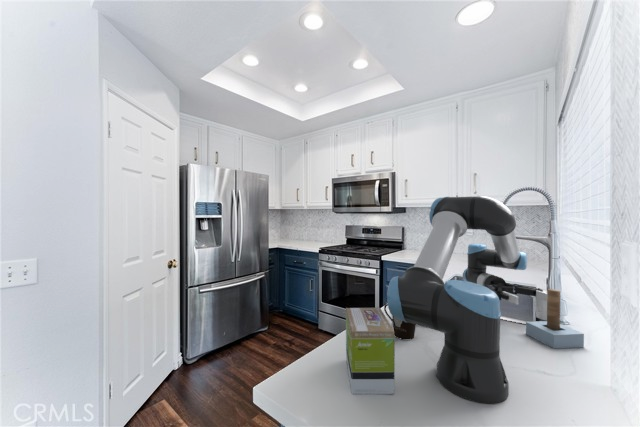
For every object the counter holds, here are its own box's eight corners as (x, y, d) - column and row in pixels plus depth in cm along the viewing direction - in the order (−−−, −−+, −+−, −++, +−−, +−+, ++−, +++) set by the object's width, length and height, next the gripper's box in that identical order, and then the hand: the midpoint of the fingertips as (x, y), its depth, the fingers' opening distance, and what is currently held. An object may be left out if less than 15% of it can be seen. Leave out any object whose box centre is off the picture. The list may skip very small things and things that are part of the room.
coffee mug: (423, 339, 88) (423, 308, 87) (399, 342, 86) (399, 311, 85) (403, 325, 99) (404, 297, 99) (381, 327, 97) (382, 299, 97)
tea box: (344, 359, 76) (345, 306, 76) (381, 359, 76) (381, 306, 76) (350, 395, 61) (351, 329, 61) (395, 396, 61) (396, 330, 61)
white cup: (565, 323, 101) (565, 296, 101) (541, 321, 102) (541, 294, 103) (552, 316, 109) (552, 290, 109) (529, 314, 110) (529, 289, 110)
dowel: (553, 342, 86) (554, 291, 86) (544, 337, 90) (544, 289, 89) (562, 342, 87) (563, 291, 87) (552, 337, 90) (553, 288, 90)
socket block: (554, 348, 83) (554, 335, 83) (525, 333, 93) (526, 321, 93) (583, 346, 84) (583, 333, 84) (552, 332, 94) (552, 320, 94)
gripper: (518, 292, 117) (568, 309, 96) (463, 293, 115) (502, 312, 94) (519, 274, 117) (568, 288, 96) (464, 275, 115) (502, 290, 94)
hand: (535, 300), depth 95 cm, fingers open, 13 cm apart
